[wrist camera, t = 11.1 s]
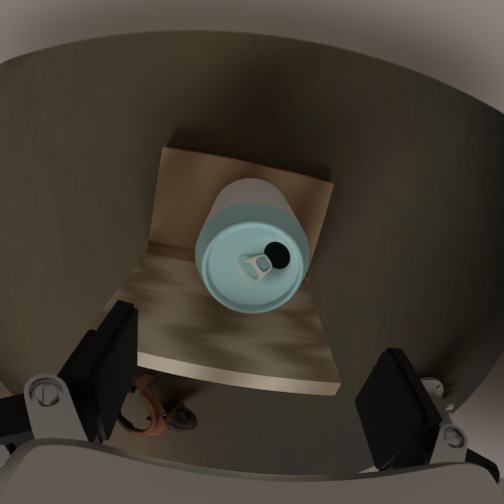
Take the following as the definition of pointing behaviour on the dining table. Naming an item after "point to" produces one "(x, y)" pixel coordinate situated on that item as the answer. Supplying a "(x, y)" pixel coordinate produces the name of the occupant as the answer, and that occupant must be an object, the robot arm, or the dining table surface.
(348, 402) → the dining table surface
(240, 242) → the can
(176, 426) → the vr controller
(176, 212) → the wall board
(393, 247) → the dining table surface
